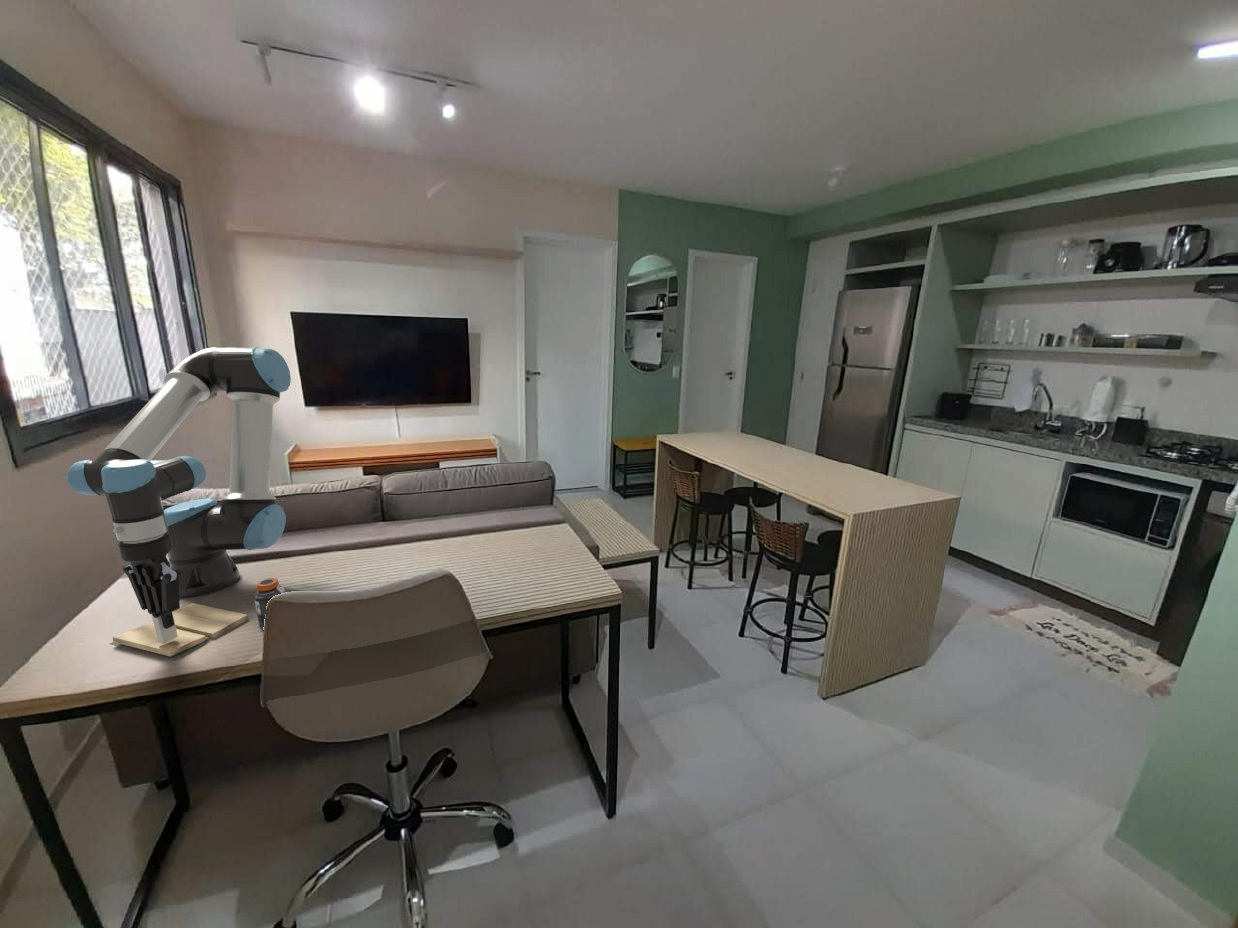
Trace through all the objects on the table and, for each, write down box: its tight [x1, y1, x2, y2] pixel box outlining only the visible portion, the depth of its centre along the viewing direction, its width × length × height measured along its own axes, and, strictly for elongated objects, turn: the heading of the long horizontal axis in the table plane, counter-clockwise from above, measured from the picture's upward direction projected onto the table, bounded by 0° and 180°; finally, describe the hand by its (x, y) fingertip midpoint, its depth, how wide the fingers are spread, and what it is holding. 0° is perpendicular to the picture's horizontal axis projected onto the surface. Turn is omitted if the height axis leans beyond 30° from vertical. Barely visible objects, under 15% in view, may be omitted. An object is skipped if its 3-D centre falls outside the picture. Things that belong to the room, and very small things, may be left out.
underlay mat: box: [109, 615, 254, 661], centre depth 113 cm, size 17×20×1 cm
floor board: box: [172, 602, 249, 639], centre depth 115 cm, size 8×18×1 cm, turn 74°
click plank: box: [112, 622, 209, 656], centre depth 108 cm, size 8×17×1 cm, turn 74°
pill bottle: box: [253, 577, 286, 631], centre depth 114 cm, size 6×6×11 cm
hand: (168, 639), depth 105 cm, fingers closed
